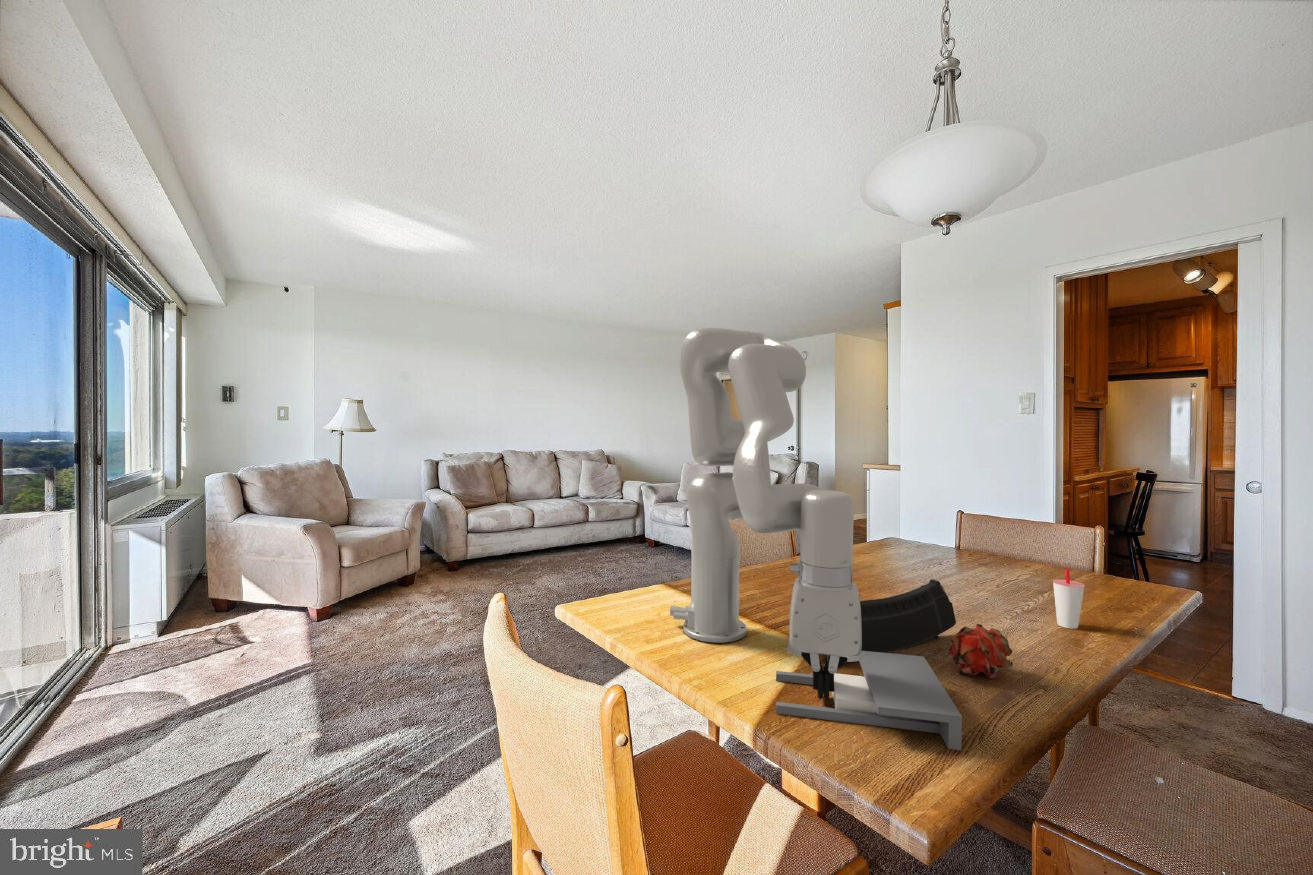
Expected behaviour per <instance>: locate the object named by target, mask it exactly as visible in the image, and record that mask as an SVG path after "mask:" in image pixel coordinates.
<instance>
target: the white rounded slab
mask: <svg viewBox="0 0 1313 875" xmlns="http://www.w3.org/2000/svg"><path fill="white" fill-rule="evenodd" d="M831 693H832V697H833V698H832V699H833V704H834V709H842V710H851V711H860V712H868V713H877V710H876V708H875V705H874V702H873V699H872V696H871V693H870V691H869V688H868V685H867V682H866V679H865V676H864V675H852V674H846V673H845V674H844V673H837V672H836V673H834V692H831ZM877 714H878V713H877Z"/></svg>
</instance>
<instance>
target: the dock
mask: <svg viewBox="0 0 1313 875" xmlns="http://www.w3.org/2000/svg"><path fill="white" fill-rule="evenodd" d="M861 654H862V660H861V661H858V662H859V664H860V668H861V671H862V673H863V676H864V677H865V679H866V682H867V685H868V688H869V691H870V693H871V696H872V699H873V702H874V705H875V708H876V710H877V713H878V714H877V713H868V712H860V711H851V710H842V709H835V707H834V708H832V707H825V706H815V705H807V704H806V705H805V704H798V703H790V702H781V701H775V707H776V708H775V714H776V715H783V716H792V717H793V716H794V717H802V718H807V719H808V718H809V719H810V718H811V719H816V720H826V721H827V720H828V721H833V722H842V723H848V724H849V723H850V724H859V725H866V726H867V725H868V726H875V727H884V728H892V729H898V730H900V729H901V730H909V731H916V732H926V733H932V734H933V733H935V734H940V737H941V738H942V740H943V742H944V743H945V745H946V747H947V749H948V750H955V751H962V740H963V738H962V735H963V731H962V730H963V729H962V728H963V715H962V714H961V712H960V711H959V709H958V707H957V706H956V704H955V703H954V702H953V700H952V698H951V697H950V695H949V694H948V692H947V690H946V689H945V688H944V686H943V685H942V682H941V681H940V680H939V678H938V677H937V675H936V673H935V672H934V670H933V668H932V667H931V666H930V664H929V662H928V661H927V659H926V658H925V656H921V655H920V656H919V655H913V654H912V655H911V654H910V655H909V654H901V653H900V654H899V653H892V652H888V653H880V652H870V651H861ZM775 681H776V682H784V683H793V684H802V685H811V686H813V673H812V674H809V673H801V672H800V673H799V672H791V671H782V670H775Z"/></svg>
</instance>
